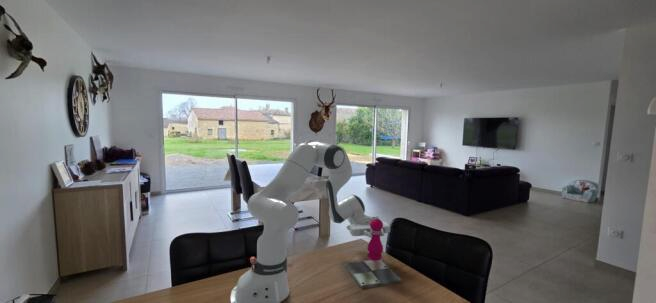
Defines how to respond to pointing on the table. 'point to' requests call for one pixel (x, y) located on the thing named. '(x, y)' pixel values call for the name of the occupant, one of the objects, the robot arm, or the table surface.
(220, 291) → the table surface
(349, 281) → the table surface
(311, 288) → the table surface
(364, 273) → the tile board
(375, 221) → the pepper mill
